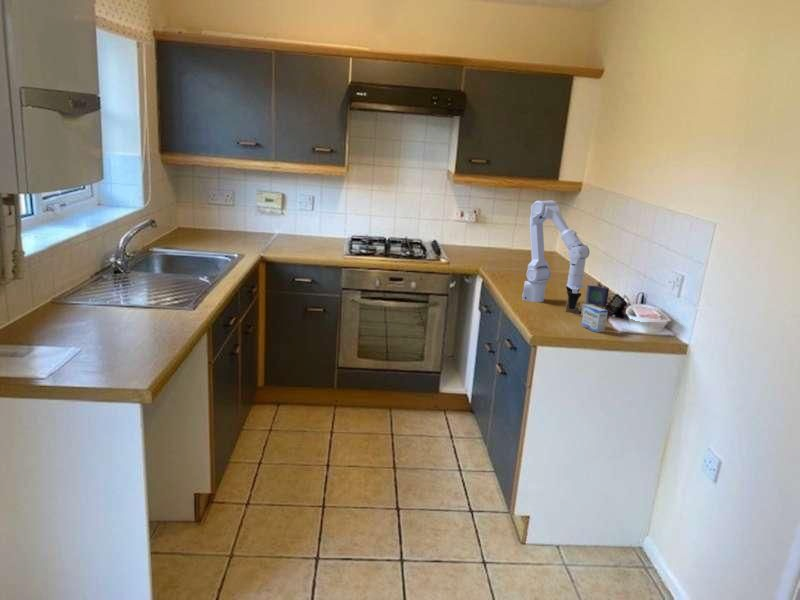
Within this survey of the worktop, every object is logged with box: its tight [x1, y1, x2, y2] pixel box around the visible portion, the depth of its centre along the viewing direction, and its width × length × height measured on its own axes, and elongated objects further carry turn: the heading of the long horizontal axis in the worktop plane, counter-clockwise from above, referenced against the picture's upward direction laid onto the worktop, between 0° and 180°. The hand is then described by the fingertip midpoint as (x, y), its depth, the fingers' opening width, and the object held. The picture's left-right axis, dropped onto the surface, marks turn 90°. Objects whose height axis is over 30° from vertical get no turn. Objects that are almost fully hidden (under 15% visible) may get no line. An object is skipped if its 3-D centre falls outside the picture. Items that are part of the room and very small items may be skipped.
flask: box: [584, 281, 610, 307], centre depth 261 cm, size 9×3×11 cm, turn 59°
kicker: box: [565, 296, 580, 315], centre depth 247 cm, size 5×5×7 cm
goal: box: [579, 302, 594, 317], centre depth 247 cm, size 5×9×3 cm, turn 167°
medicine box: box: [581, 304, 609, 333], centre depth 228 cm, size 8×4×9 cm, turn 31°
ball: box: [579, 303, 588, 313], centre depth 247 cm, size 4×4×4 cm
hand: (571, 306), depth 248 cm, fingers open, 7 cm apart
